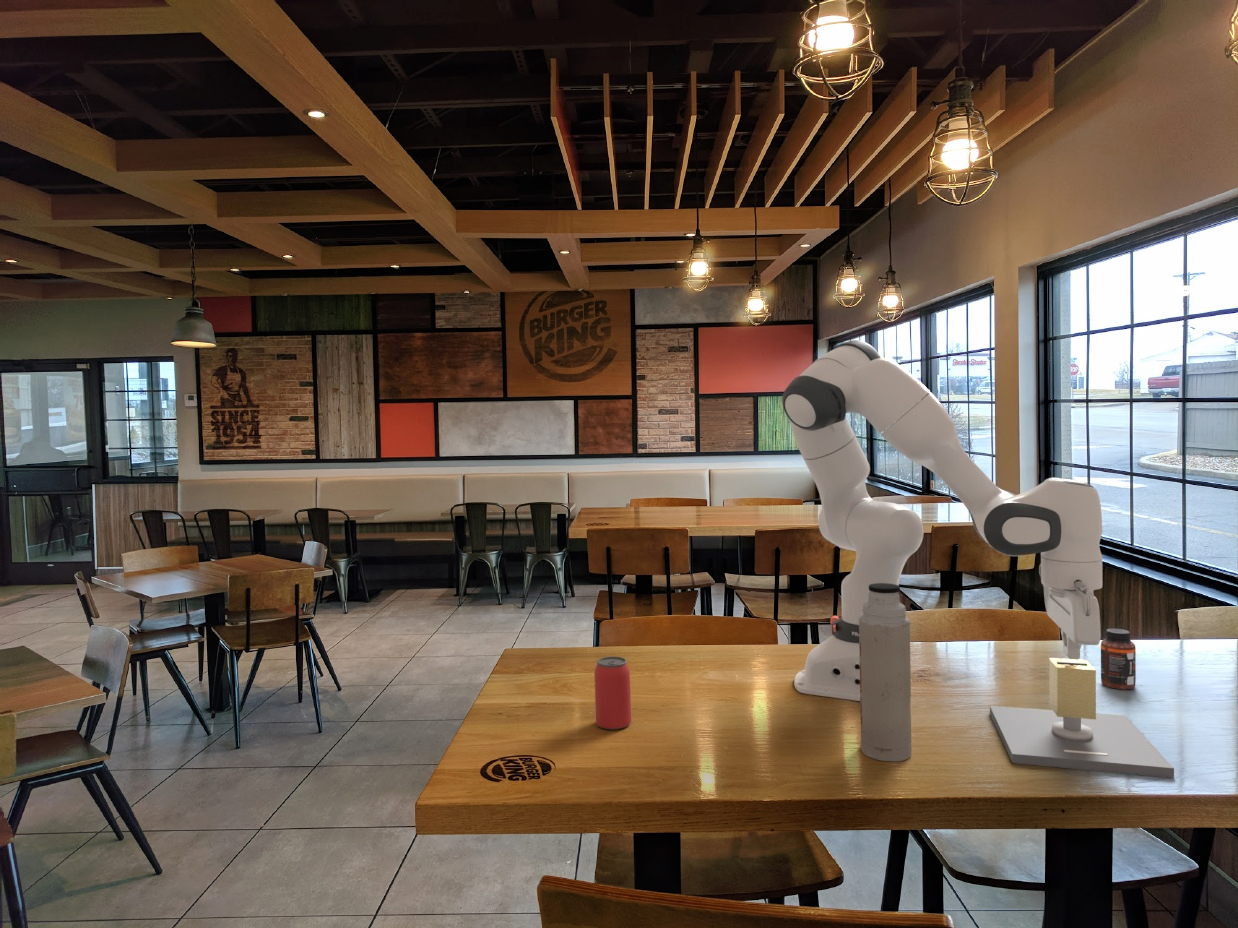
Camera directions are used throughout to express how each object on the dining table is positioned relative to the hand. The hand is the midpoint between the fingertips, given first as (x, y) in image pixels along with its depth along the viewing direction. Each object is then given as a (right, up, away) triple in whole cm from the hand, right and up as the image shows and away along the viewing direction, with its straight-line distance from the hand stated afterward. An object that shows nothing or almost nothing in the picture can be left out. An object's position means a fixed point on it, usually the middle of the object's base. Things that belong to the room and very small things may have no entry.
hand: (1071, 656), depth 129 cm
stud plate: (0, -15, +1) cm, 15 cm away
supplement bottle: (+26, -13, +27) cm, 40 cm away
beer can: (-77, -16, +14) cm, 80 cm away
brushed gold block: (0, -9, +1) cm, 9 cm away
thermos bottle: (-31, -16, -1) cm, 35 cm away
